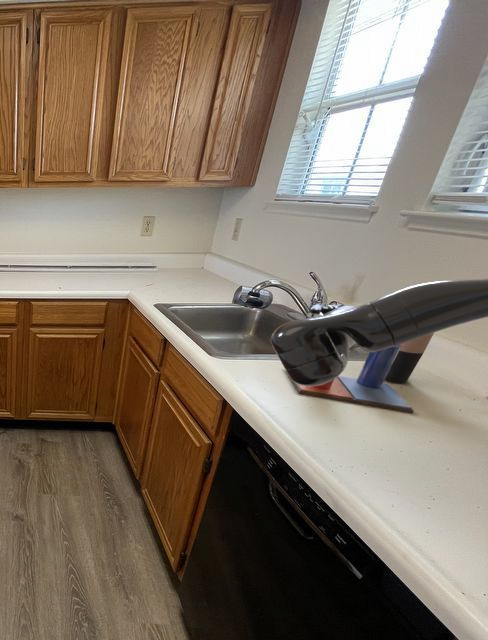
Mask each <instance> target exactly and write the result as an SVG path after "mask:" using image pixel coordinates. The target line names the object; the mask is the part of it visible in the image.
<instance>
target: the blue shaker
mask: <svg viewBox="0 0 488 640" xmlns="http://www.w3.org/2000/svg"><path fill="white" fill-rule="evenodd" d="M401 347H402V346H401V345H397V346H393V347H391V348H388V349H385V350H382V351H378V352H372V353H371V352H368V355H367V357H366V359H365V361H364V364H363V366H362V368H361V369H360V373H359V374H358V376H357V378H356V379H357V380H356V382H357V383H358V384H360V385H363V386H365V387H369V388H376V389H378V388H381V386H382V384H383V383H385V381H384V380H385V378H386V376H387V374H388V372H389V370H390V368H391V366H392V364H393V362H394V360H395V358H396V356H397V354H398V352H399V351H400V349H401Z"/></svg>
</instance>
